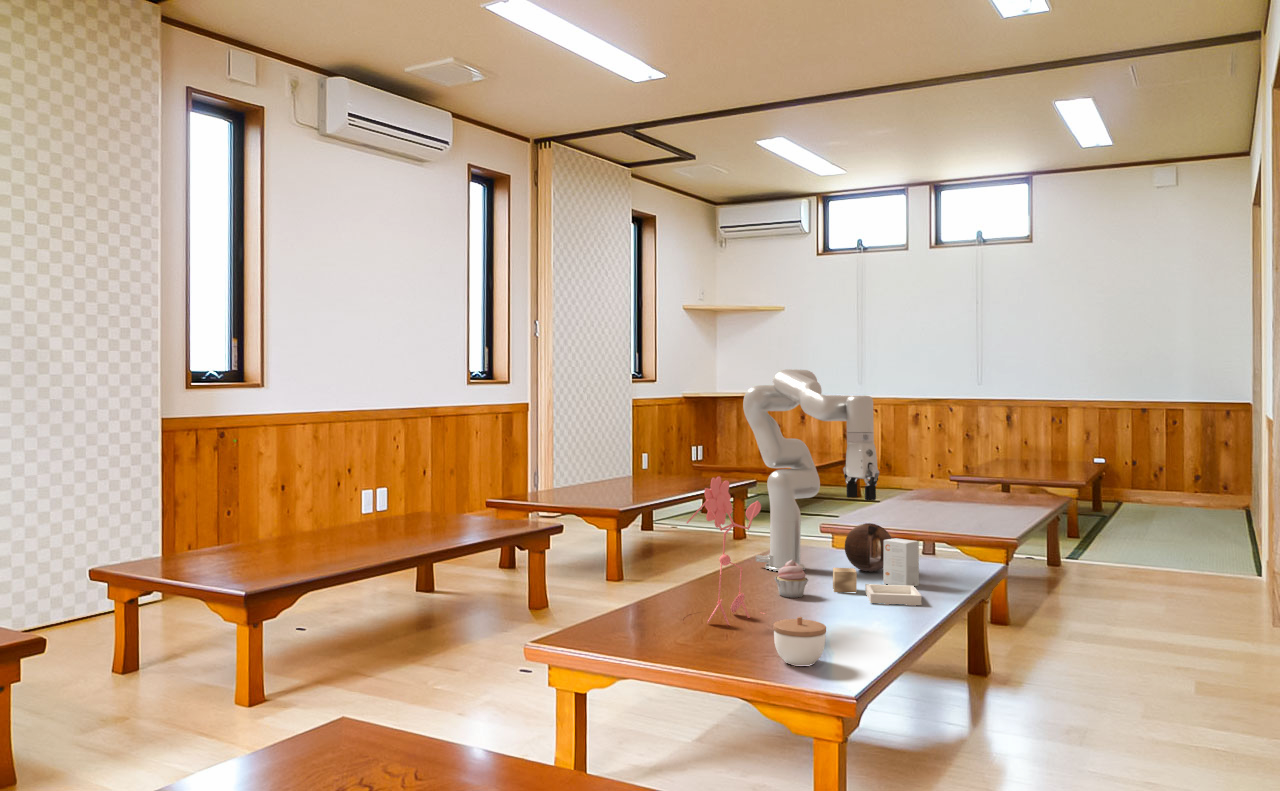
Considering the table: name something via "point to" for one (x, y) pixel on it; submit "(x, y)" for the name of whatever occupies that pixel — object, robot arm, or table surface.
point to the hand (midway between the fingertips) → (861, 498)
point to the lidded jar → (799, 640)
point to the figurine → (717, 510)
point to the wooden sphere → (866, 546)
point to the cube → (844, 579)
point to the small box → (901, 562)
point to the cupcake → (791, 580)
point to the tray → (893, 594)
